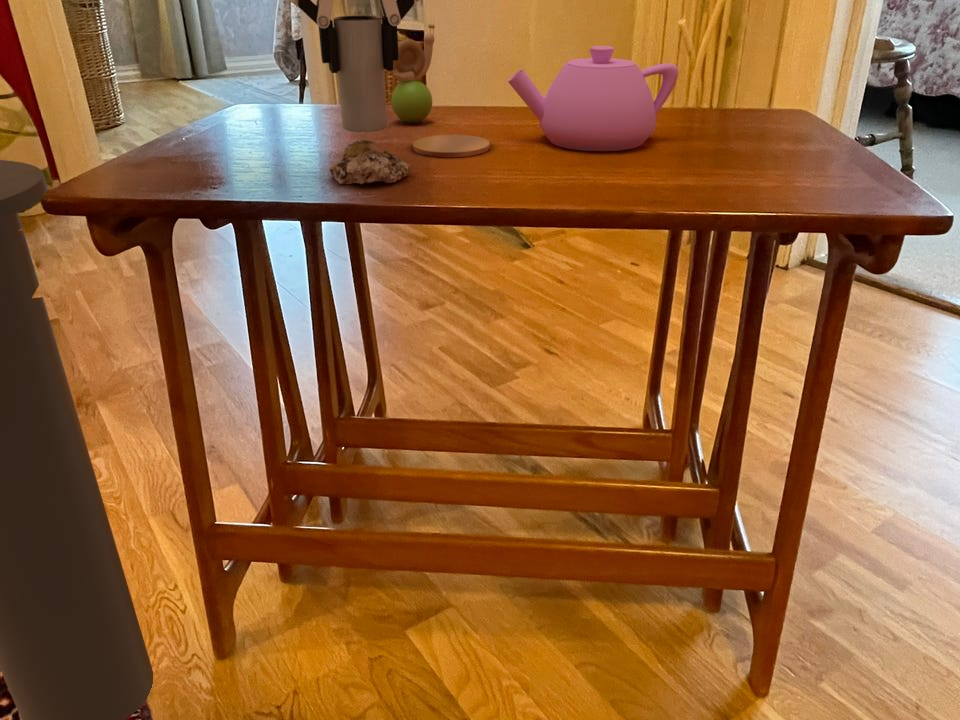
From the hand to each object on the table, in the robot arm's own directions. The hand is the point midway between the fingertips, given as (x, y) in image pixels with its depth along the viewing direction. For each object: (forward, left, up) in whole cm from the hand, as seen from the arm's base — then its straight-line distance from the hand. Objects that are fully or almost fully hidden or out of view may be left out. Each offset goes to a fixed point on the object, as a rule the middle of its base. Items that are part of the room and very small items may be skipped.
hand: (360, 67), depth 77 cm
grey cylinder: (0, 0, -6) cm, 6 cm away
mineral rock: (0, 0, -11) cm, 11 cm away
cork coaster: (+11, +9, -11) cm, 18 cm away
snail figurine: (+10, +25, -11) cm, 29 cm away
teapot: (+28, +8, -11) cm, 31 cm away
